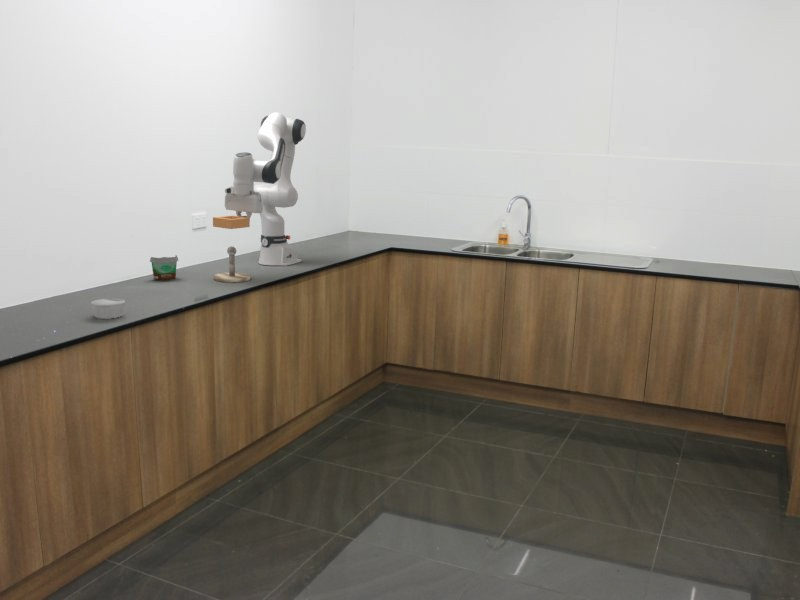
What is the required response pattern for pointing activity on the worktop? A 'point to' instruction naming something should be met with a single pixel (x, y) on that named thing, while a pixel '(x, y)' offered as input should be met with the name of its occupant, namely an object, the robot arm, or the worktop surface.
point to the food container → (164, 268)
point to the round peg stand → (232, 270)
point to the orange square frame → (231, 222)
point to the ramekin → (108, 308)
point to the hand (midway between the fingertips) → (243, 221)
